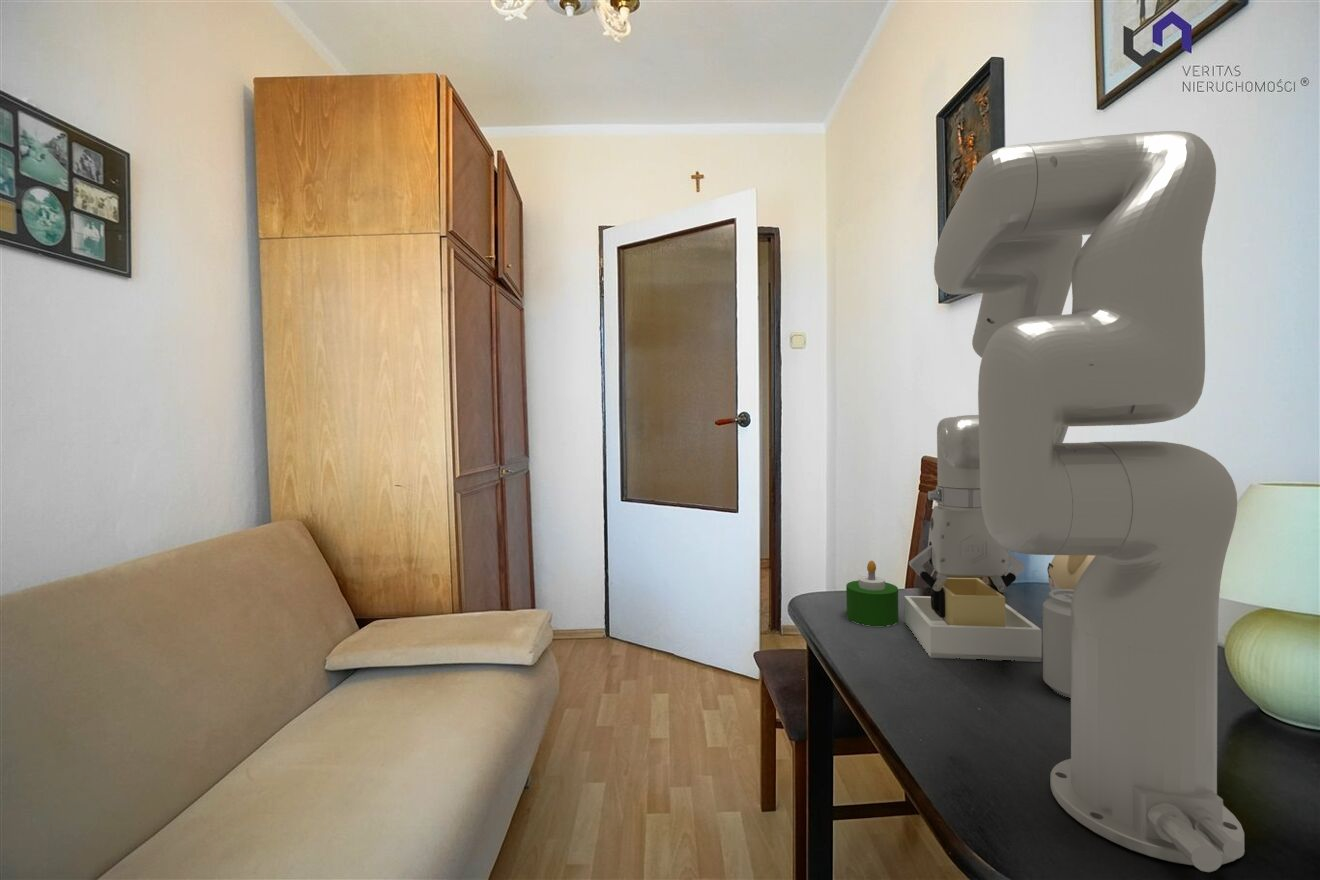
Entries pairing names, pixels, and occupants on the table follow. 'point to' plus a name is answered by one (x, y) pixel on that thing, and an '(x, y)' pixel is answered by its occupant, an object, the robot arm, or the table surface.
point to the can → (1057, 641)
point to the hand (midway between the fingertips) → (966, 614)
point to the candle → (872, 600)
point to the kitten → (1067, 570)
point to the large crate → (972, 635)
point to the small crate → (972, 603)
